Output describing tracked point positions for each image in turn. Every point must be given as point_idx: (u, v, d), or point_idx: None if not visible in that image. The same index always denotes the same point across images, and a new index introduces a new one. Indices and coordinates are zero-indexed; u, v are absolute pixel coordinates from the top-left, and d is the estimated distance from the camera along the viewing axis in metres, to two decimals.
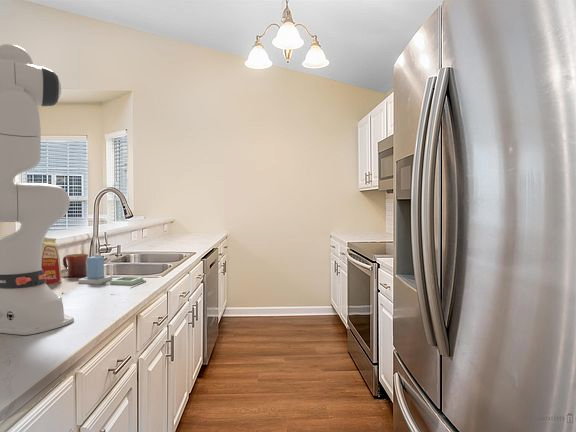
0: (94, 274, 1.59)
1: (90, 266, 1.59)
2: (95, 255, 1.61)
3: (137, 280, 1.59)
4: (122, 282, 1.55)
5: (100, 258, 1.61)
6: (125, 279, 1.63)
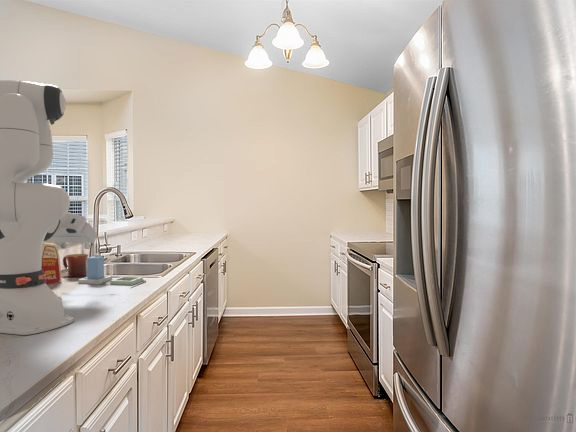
0: (94, 274, 1.59)
1: (90, 266, 1.59)
2: (95, 255, 1.61)
3: (137, 280, 1.59)
4: (122, 282, 1.55)
5: (100, 258, 1.61)
6: (125, 279, 1.63)
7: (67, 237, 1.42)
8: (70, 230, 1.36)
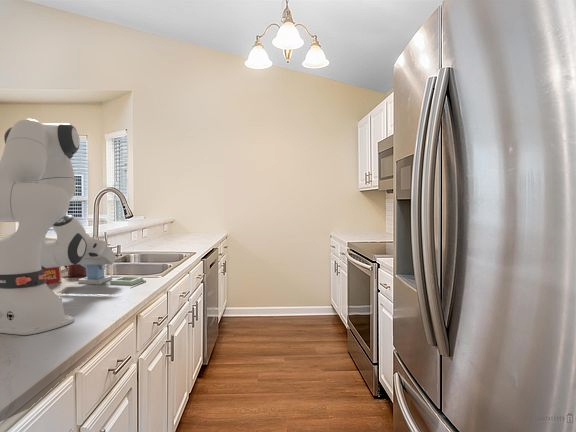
0: (94, 274, 1.59)
1: (90, 266, 1.59)
2: None
3: (137, 280, 1.59)
4: (122, 282, 1.55)
5: None
6: (125, 279, 1.63)
7: (89, 259, 1.55)
8: (92, 254, 1.49)
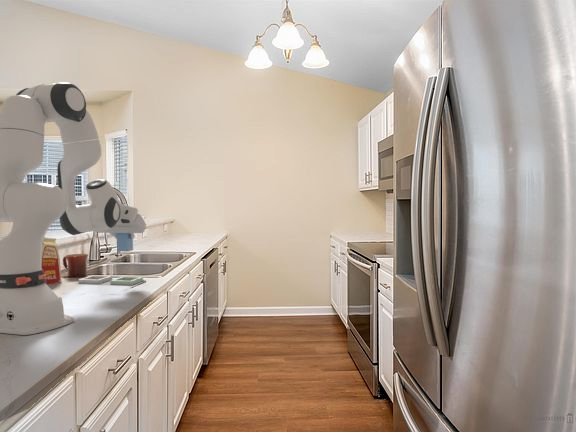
0: (124, 243, 1.57)
1: (119, 235, 1.57)
2: None
3: (137, 280, 1.59)
4: (122, 282, 1.55)
5: None
6: (125, 279, 1.63)
7: (119, 227, 1.52)
8: (124, 220, 1.47)
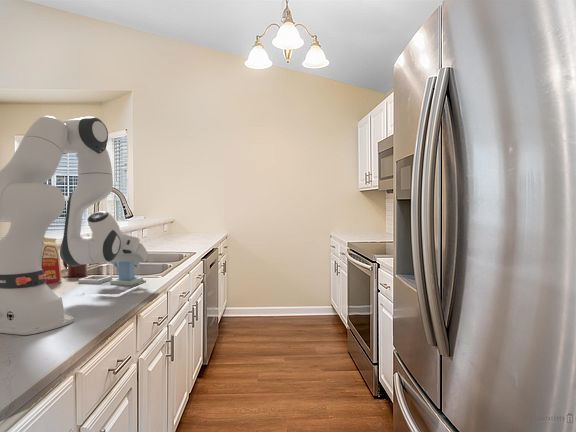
0: (126, 275, 1.57)
1: (121, 267, 1.57)
2: None
3: (137, 280, 1.59)
4: (122, 282, 1.55)
5: None
6: None
7: (121, 257, 1.53)
8: (126, 251, 1.47)
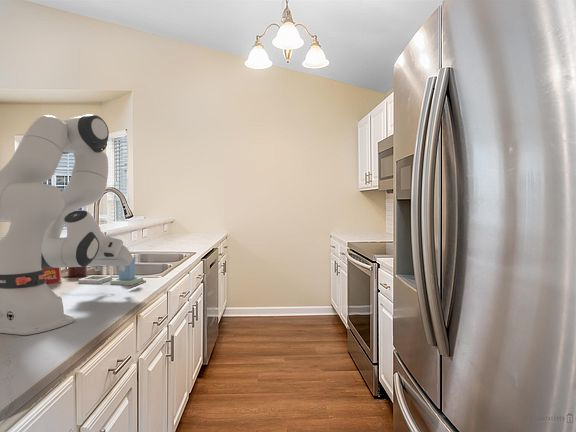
0: (126, 275, 1.57)
1: None
2: None
3: (137, 280, 1.59)
4: (122, 282, 1.55)
5: None
6: None
7: (103, 260, 1.40)
8: (107, 254, 1.34)
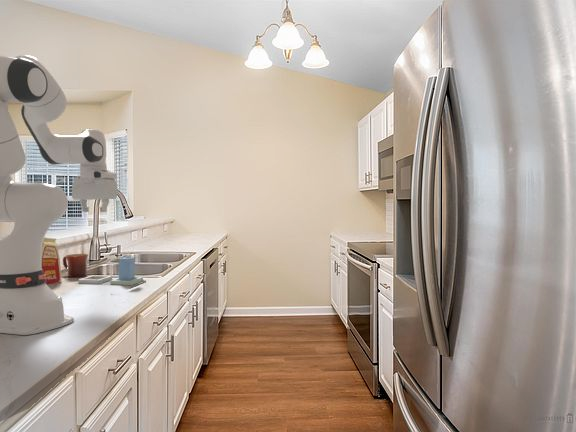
0: (126, 275, 1.57)
1: (121, 267, 1.57)
2: (126, 256, 1.59)
3: (137, 280, 1.59)
4: (122, 282, 1.55)
5: (131, 259, 1.59)
6: None
7: (92, 190, 1.43)
8: (96, 174, 1.40)
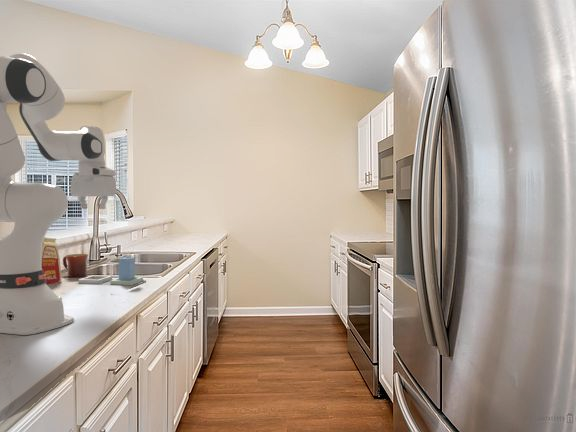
0: (126, 275, 1.57)
1: (121, 267, 1.57)
2: (126, 256, 1.59)
3: (137, 280, 1.59)
4: (122, 282, 1.55)
5: (131, 259, 1.59)
6: None
7: (90, 186, 1.43)
8: (95, 170, 1.39)
